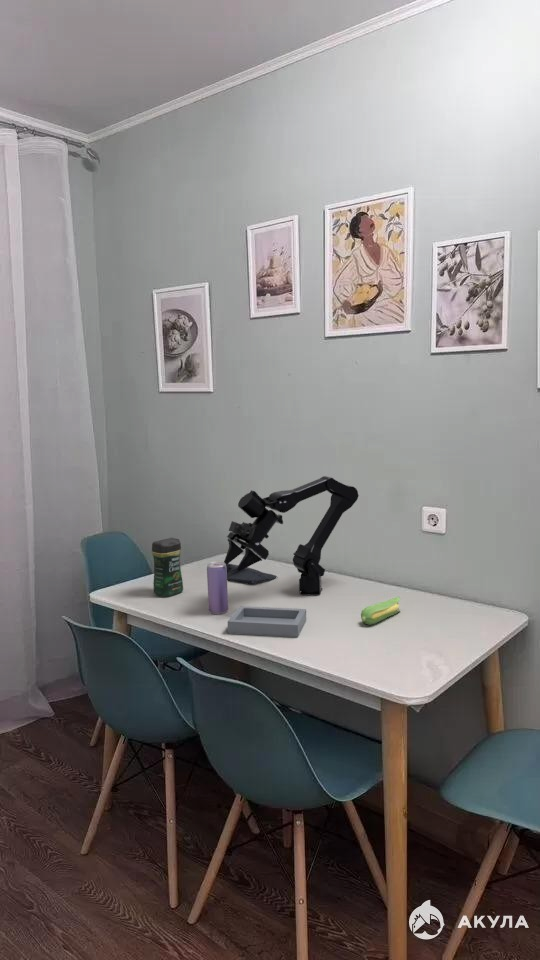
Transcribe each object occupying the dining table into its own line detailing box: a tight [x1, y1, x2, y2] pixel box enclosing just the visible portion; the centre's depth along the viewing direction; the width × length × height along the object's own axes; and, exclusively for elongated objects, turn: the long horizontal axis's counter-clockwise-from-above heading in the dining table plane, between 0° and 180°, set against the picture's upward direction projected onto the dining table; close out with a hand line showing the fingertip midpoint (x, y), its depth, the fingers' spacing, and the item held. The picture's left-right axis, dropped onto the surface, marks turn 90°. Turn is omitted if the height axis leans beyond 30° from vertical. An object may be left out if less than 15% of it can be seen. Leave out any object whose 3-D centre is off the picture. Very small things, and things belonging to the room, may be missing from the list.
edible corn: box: [360, 596, 402, 626], centre depth 204 cm, size 5×20×5 cm
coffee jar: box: [151, 537, 184, 598], centre depth 231 cm, size 10×8×19 cm
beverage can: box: [206, 561, 229, 615], centre depth 212 cm, size 6×6×15 cm
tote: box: [226, 605, 307, 638], centre depth 199 cm, size 20×13×4 cm, turn 77°
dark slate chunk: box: [226, 563, 278, 585], centre depth 248 cm, size 15×22×5 cm
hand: (231, 567), depth 213 cm, fingers open, 9 cm apart
